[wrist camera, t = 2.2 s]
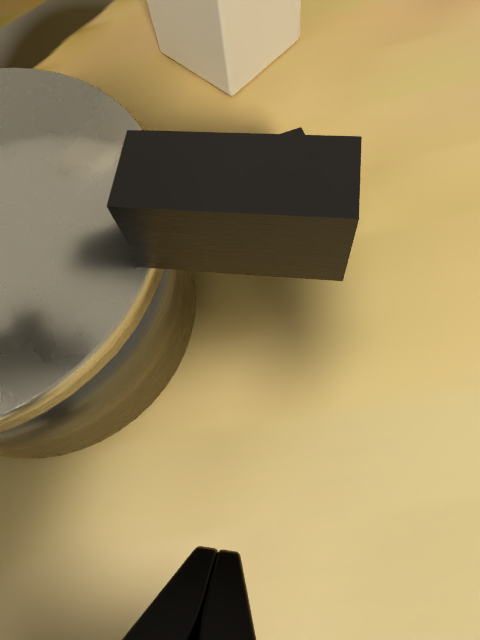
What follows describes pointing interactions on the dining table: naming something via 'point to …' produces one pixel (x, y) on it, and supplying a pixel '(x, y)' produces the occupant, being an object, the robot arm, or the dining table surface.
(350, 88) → the dining table surface
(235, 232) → the cooker lid
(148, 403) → the cooker pot
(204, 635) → the robot arm
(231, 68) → the milk carton
